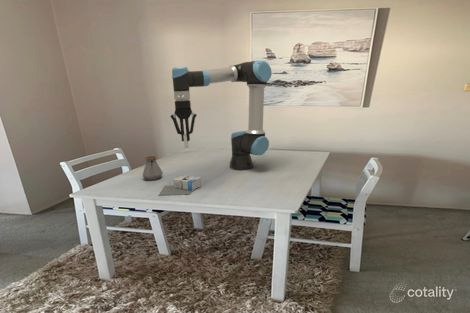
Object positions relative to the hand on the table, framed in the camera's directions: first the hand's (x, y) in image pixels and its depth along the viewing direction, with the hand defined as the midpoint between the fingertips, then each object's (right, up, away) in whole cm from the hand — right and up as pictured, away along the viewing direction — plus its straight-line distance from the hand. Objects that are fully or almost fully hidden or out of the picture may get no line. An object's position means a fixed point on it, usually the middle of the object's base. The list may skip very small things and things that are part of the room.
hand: (186, 147), depth 152 cm
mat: (-6, -22, +5) cm, 23 cm away
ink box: (+5, -19, +5) cm, 20 cm away
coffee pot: (-22, -19, +22) cm, 36 cm away
